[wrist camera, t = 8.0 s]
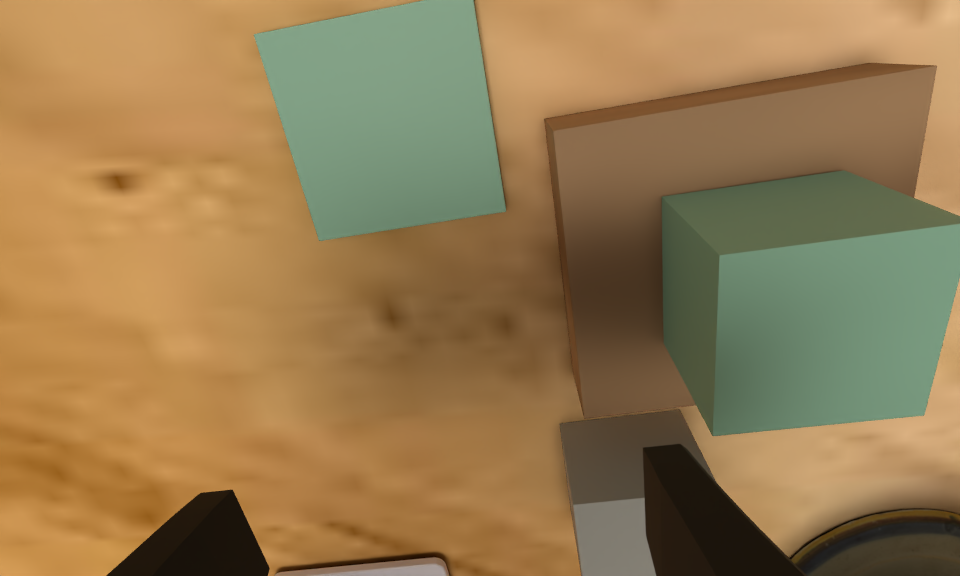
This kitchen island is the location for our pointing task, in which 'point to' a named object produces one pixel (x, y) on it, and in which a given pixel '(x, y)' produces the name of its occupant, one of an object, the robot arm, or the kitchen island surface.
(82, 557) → the kitchen island surface
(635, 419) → the slate block
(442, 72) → the teal square tile
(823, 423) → the teal block
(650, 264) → the walnut block
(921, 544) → the apothecary jar
